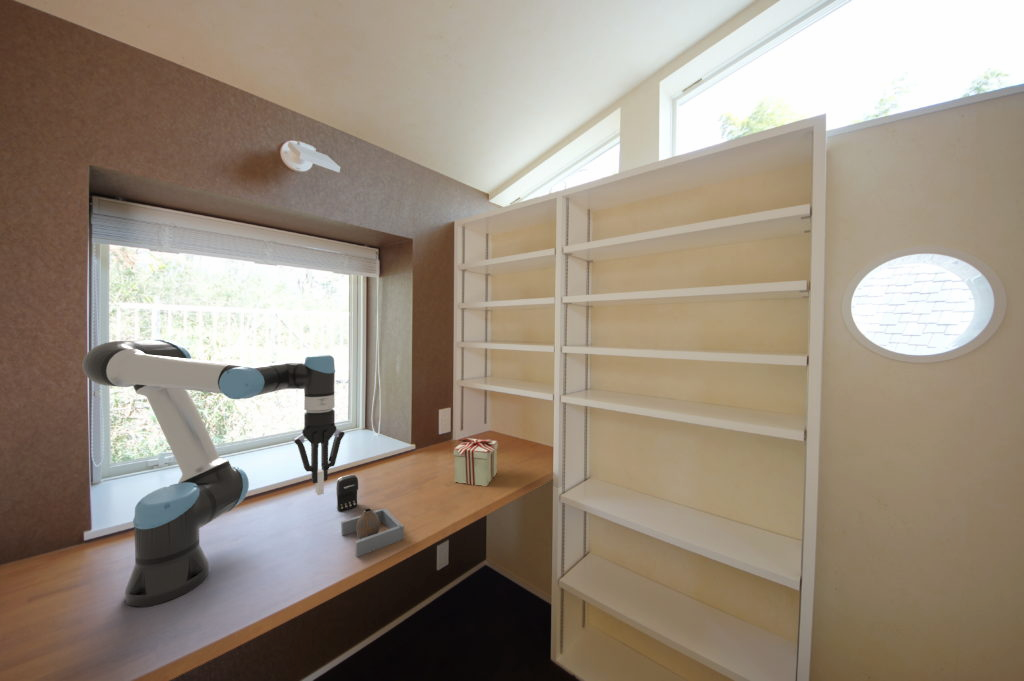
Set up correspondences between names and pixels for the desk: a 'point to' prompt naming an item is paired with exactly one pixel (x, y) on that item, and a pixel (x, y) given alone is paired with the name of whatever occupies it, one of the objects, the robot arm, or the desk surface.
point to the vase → (367, 524)
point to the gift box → (475, 461)
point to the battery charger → (346, 492)
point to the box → (378, 539)
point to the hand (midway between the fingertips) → (319, 492)
